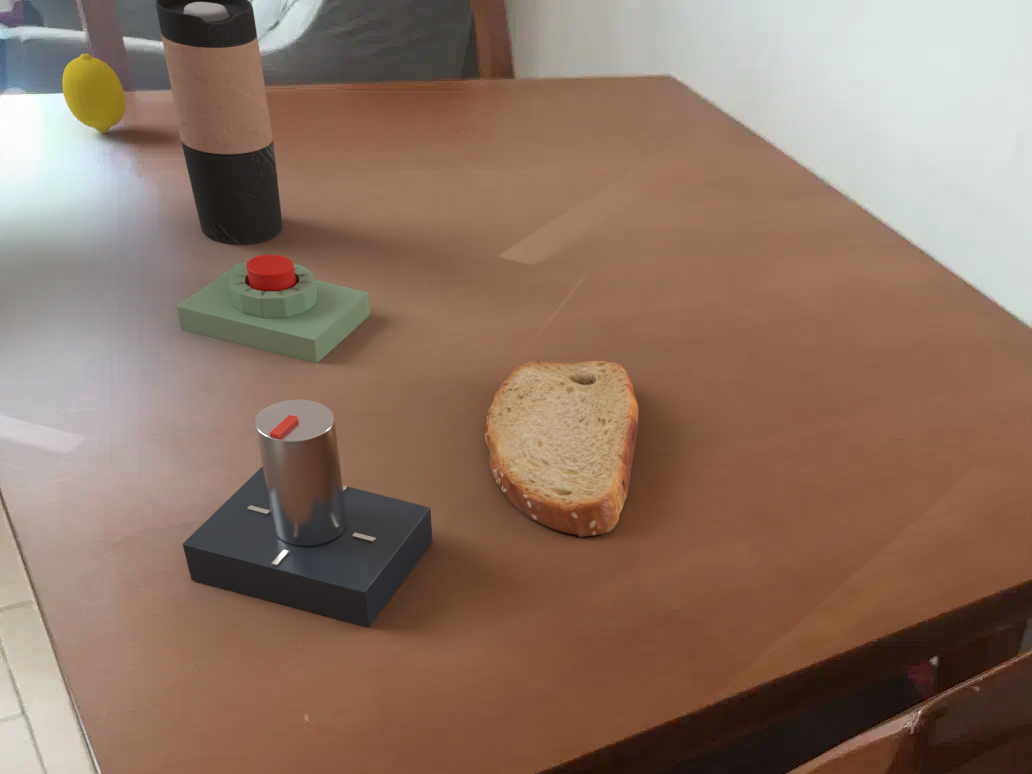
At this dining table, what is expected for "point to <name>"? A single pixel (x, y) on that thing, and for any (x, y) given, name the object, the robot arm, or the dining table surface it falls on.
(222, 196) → the travel mug
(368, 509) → the panel
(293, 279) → the button
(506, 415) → the slice of bread
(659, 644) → the dining table surface
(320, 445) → the metal dial knob
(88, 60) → the lemon
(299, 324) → the button block
